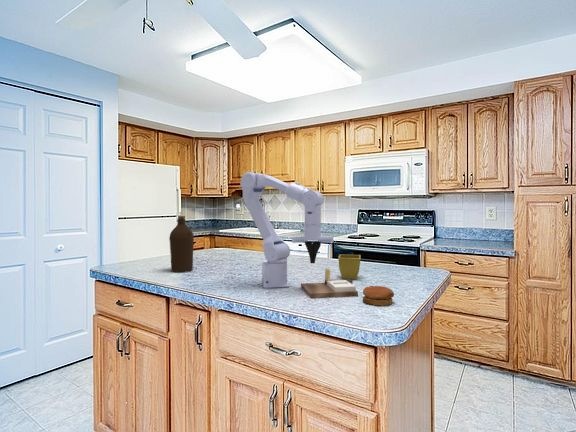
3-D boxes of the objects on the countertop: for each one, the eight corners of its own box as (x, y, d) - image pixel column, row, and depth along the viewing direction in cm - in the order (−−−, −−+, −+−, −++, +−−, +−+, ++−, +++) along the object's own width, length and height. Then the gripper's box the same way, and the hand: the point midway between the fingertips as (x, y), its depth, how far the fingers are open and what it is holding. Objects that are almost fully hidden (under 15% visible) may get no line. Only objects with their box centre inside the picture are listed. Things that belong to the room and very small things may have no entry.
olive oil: (196, 268, 169) (196, 215, 168) (189, 273, 158) (189, 216, 157) (174, 268, 169) (174, 215, 168) (166, 272, 158) (165, 216, 158)
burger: (386, 308, 105) (386, 292, 104) (357, 303, 110) (357, 288, 110) (398, 301, 113) (398, 286, 112) (370, 296, 118) (370, 282, 118)
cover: (335, 291, 118) (335, 286, 118) (326, 284, 127) (326, 279, 127) (355, 290, 119) (355, 285, 119) (345, 284, 129) (345, 278, 129)
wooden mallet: (353, 284, 127) (353, 270, 127) (325, 284, 128) (325, 270, 128) (351, 281, 132) (351, 268, 132) (324, 281, 132) (324, 268, 132)
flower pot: (360, 280, 142) (360, 258, 141) (338, 279, 143) (338, 257, 143) (360, 276, 150) (360, 254, 150) (339, 275, 152) (339, 254, 152)
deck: (310, 298, 115) (310, 293, 115) (301, 287, 130) (301, 283, 130) (357, 296, 118) (357, 291, 118) (343, 285, 133) (343, 281, 133)
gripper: (331, 224, 131) (330, 260, 131) (291, 224, 130) (291, 261, 130) (334, 225, 124) (334, 264, 124) (292, 225, 123) (292, 264, 123)
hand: (312, 262), depth 127 cm, fingers closed
